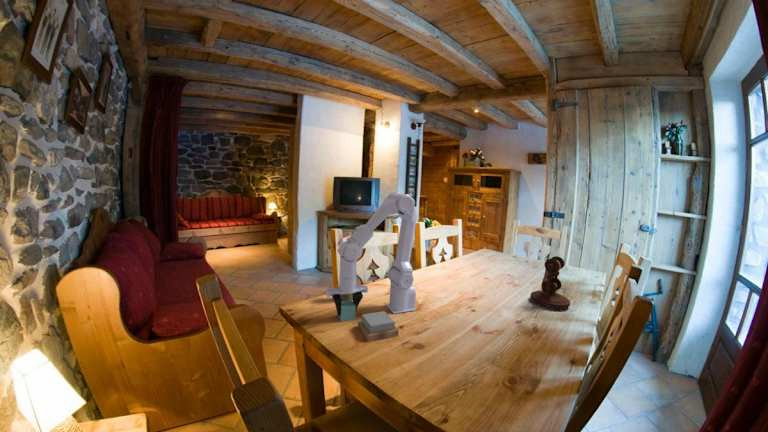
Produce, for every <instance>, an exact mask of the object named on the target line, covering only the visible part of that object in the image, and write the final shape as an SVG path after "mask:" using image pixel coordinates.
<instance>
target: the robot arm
mask: <svg viewBox="0 0 768 432" xmlns="http://www.w3.org/2000/svg"><path fill="white" fill-rule="evenodd" d="M415 205H416V201H415V199H414V198H413V197H412V196H411V195H410V194H407V193H406V194H405V193H399V192H396V191H395V192H391V193H389V194H388V195H387V197H385V198H384V199H383V200H382V203H381V205H380V206H379V207H378V208H377V210H376V211H375V212H374V213H373V215H371V217H370V218H369V219H368V221H367V222H366V223H365V224H360V225H359V226H358V225H357V226H356V227H355V231H354V232H353V233H352V234H351V235H350V236H349V237H347V238H346V239H345V241H343V242H342V243H341V244H340V245H339V247H338V248H337V252H338V253H337V254H339V256H340V257H339V258H340V259H339V276H340V278H339V281H338V282H339V283H338V286H337V287H333V288H330V289H329V288H328V289H325V295H326V297H327V298H330V297H332V299H333V302H334V305H335V308H336V315H337V316H340V315H341V301H342V299H341V296H340V295H343V294H352V296H353V300H352V301H353V303H354V304H355V305H356V312H357V310H358V307H359V305H360V302H361V301H362V300H363V298H364V293H365V294H367V293H368V292H369V288H368V286H367V285H357V266H358V264H357V263H358V261H357V259H358V258H359V257H360V255H361V251H362V249H363V248H364V247H365V245H366V244H368V242H369V241H370V240H371V239H372V237H373V236H374V230H375V229H376V228H377V227H379V225H380V224H381V223H382V222H383V221H384V220H385V219H387V217H388V216H390V215H398V216H399V217H400V219H401V222H400V228H399V235H398V240H397V241H398V242H397V246H396V247H397V248H396V253H395V254H396V255H395V259H394V260H393V261H392V262H391V265H390V268H389V270H388V272H387V277H388V280H389V281H390V285H389V286H390V288H389V301H388V302H389V303H385V304H384V305H385V306H386V308H387V309H389V311H390V312H392V313H393V314H400V313H401V314H402V313H407V312H413V311H416V309H417V308H416V296H417V292H416V288H415V287H414V284H413V283H414V281H415V280H414V275H413V272H414V271H413V270H414V269H413V267H412V264H411V256H412V250H413V244H414V237H415V231H416V226H417V219H418V215H417V214H418V213H417V211H416V206H415Z"/></svg>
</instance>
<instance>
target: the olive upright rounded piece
mask: <svg viewBox="0 0 768 432" xmlns="http://www.w3.org/2000/svg"><path fill="white" fill-rule="evenodd" d="M339 279H340V275H339ZM340 296H341V299H342V301H349V300H352V301H353V296H352V294H343V295H340Z"/></svg>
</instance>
